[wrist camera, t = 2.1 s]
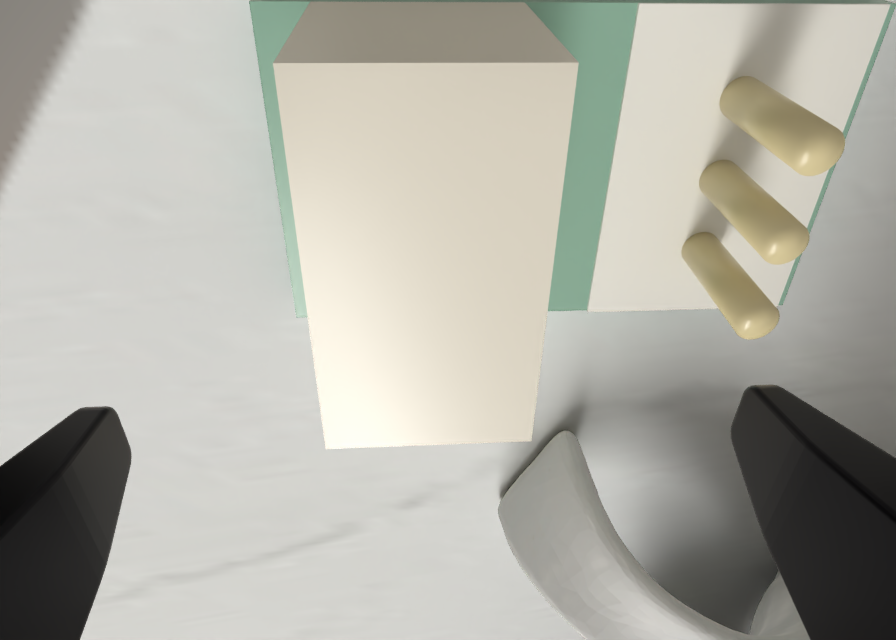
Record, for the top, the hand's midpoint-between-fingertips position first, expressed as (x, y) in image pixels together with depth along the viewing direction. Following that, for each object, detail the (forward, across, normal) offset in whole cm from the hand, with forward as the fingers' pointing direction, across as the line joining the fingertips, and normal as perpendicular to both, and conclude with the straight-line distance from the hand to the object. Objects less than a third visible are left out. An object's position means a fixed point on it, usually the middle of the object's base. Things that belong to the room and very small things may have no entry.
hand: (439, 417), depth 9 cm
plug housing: (+8, 0, 0) cm, 8 cm away
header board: (+9, -4, 0) cm, 10 cm away
